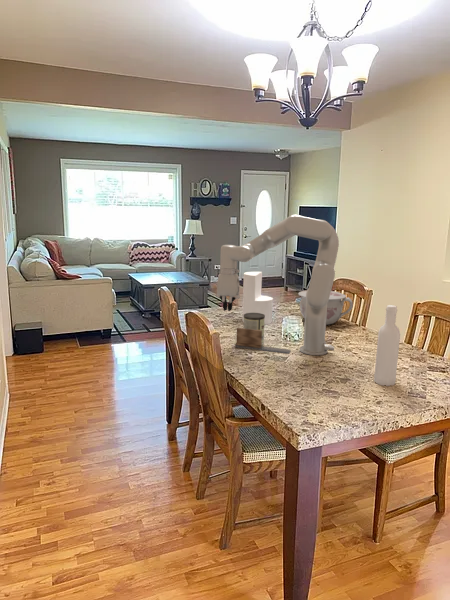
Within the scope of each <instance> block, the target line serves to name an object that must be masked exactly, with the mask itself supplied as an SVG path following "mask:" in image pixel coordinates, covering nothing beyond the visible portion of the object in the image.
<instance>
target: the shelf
mask: <svg viewBox="0 0 450 600" xmlns="http://www.w3.org/2000/svg"><path fill="white" fill-rule="evenodd" d="M236 345H239V346H247V347H256V348H261V347H262V346H263V345H262V330H253V329H244V327H243V328H242V327H237V328H236V343H235V346H236Z"/></svg>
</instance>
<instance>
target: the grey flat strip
mask: <svg viewBox="0 0 450 600" xmlns="http://www.w3.org/2000/svg"><path fill="white" fill-rule="evenodd" d="M235 348H240V349H248V350H249V349H250V350H256V351H264V352H272V353H273V352H274V353H281V354H288V355H289V354H290V353H291V349H287V348H278V347H271V346H263V345H262V347H261V348H256V347H247V346H239V345H236V344H235Z"/></svg>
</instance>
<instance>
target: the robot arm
mask: <svg viewBox="0 0 450 600" xmlns="http://www.w3.org/2000/svg"><path fill="white" fill-rule="evenodd" d="M294 236H297V237H301V238H306V239H311V240H315V241H318V249H317V253H316V258H315V262H314V264H313V267H312V270H311V271H312V272H311V278H310V281H309V286H308V288H307V289H306V290H307V292H306V312H305V319H304V331H303V345H302V346H299V351H300V352H301V353H302V354H306V355H309V356H323V355H326V354H328V351H335V346H333V345H332V344H327V341H325V340H326V338H325V337H326V328H327V325H326V316H327V303H328V300H329V297H330V293H331V291H332V290H333V284H334V281H335V277H336V276H335V275H336V271H335V265H336V262H337V258H338V257H337V256H338V252H339V247H340V246H339V245H340V244H339V242H340V241H339V236H338V233H337V231H336V229H335V228H334V227H333V225H332V224H330V223H329V222H328V221H326V220H325V219H316V218H312V217H307V216H303V215H300V214H296V213H295V214H291V215H289V216H287V217H286V218H284V219H282V220H281V221H279V222H277V223H276V224H274V225H272V226H271V227H269V228H267V229H266V230H265V231H263V232H262V233H261V234H259V235H258V236H257V237H255V238H253V239H251V240H249V241H248V242H246V243H245V244H242V245H235V244H223V245H221V247H220V263H219V264H220V265H219V267H220V271H219V274H218V278H217V284H216V293H215V297H217V298H219V299H220V300H221V302H222V309H223V311H224V312H225V311H228V312H230V311H232V309H233V303H234V301H235V300H238V299H240V298H241V295H240V291H241V290H240V277H239V274H240V269H238V268H237V264H238V263H237V262H239V263H240V262H241V263H247V262H250V261H251V260H252V259H254V258H255V257H257V256H259V255H260V254H262V253H264V252H266V251H268V250H270V249H272V248H275V247H277V246H279V245H281V244H282V243H284V242H286V241H288V240H290V239H291V238H292V237H293V238H294ZM238 273H239V274H238ZM227 297H229V301H227Z"/></svg>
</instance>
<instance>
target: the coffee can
mask: <svg viewBox="0 0 450 600" xmlns="http://www.w3.org/2000/svg"><path fill="white" fill-rule="evenodd" d="M264 319H265V315H264V314H261V313H246V314H244V322H243V328H244V329H253V330H262V346H263V345H264V343H265V325H264Z"/></svg>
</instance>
